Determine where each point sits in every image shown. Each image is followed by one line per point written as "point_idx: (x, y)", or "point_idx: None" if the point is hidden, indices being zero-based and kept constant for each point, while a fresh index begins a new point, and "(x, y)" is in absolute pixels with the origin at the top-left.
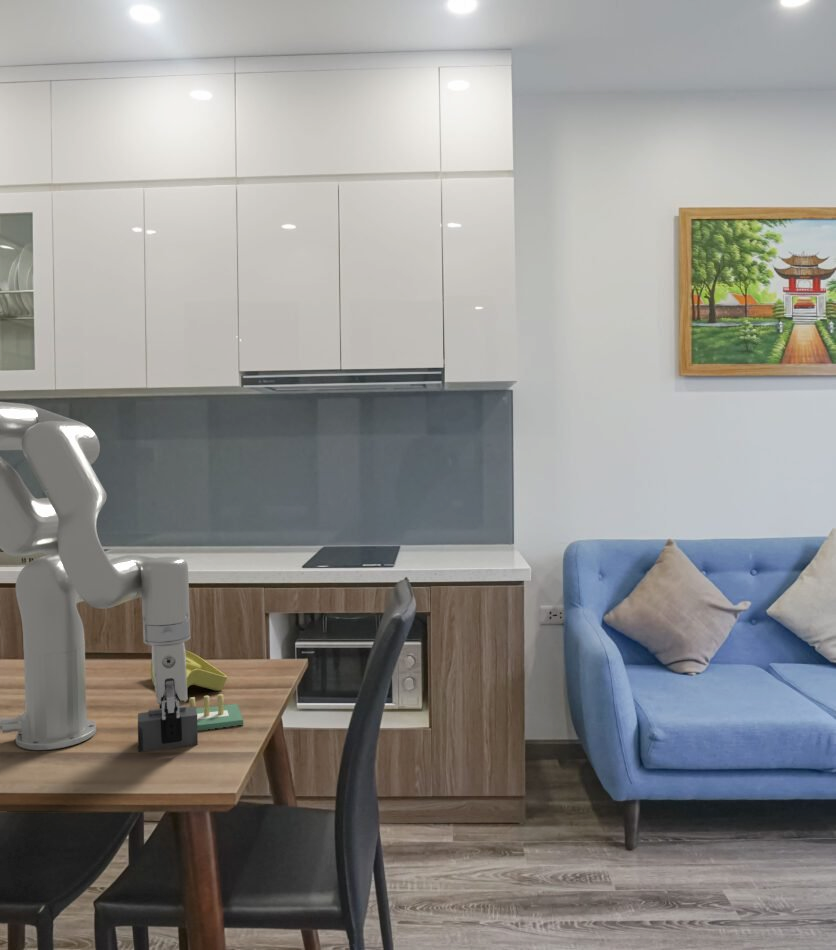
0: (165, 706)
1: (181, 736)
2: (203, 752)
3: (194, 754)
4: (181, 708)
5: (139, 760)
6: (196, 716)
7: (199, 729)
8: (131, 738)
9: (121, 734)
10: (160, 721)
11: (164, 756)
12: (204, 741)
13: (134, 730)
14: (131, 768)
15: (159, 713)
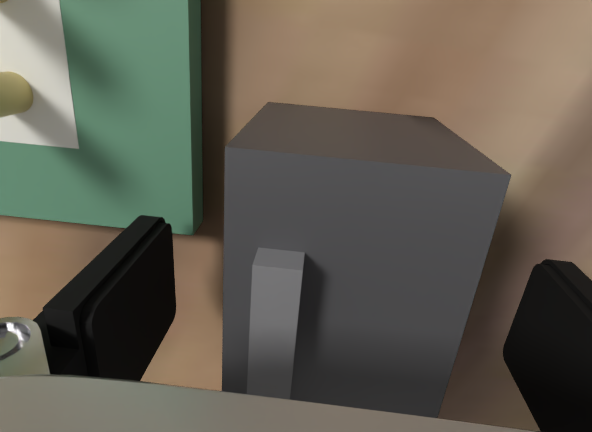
0: (124, 369)
1: (579, 275)
2: (586, 104)
3: (579, 160)
4: (298, 300)
5: (478, 391)
6: (506, 178)
7: (197, 68)
8: (193, 386)
9: None
10: None
11: (500, 300)
12: (403, 66)
13: None
14: None
15: None
